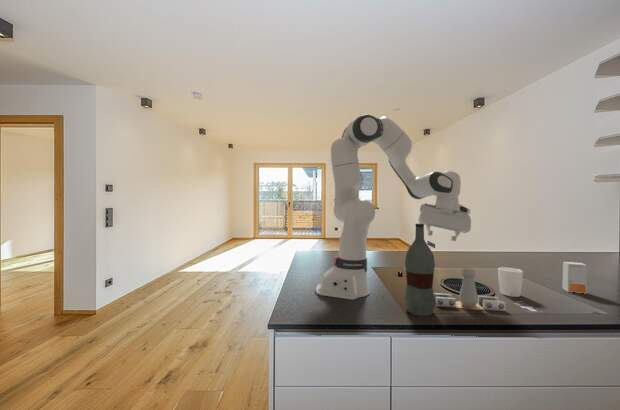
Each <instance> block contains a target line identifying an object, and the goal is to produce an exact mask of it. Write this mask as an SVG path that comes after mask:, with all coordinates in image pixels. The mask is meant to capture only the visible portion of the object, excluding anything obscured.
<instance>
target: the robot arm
mask: <svg viewBox="0 0 620 410" xmlns="http://www.w3.org/2000/svg"><path fill="white" fill-rule="evenodd" d="M371 142H372V143H375V144H376V145H378V147H380V148H381V150H382V151H383V152H384V153H385V155H386V156H387V158H388V163H389V165H390V167H391V169H393V171H394V172H395V174H396V175H397V177H398V178H399V180H401V182H402V183H403V185H404V187H405V188H406V190H407V192H408V195H409V196H410V197H412V198H413V199H415V200H422V199H425V198H427V197H431V196H435V197H436V199H435V202H434V203H435V204H429V203H427V202H426V203H423V204H421V205H420V208H419V212H420V213H419V216H418V220H417V221H418V224H424V226H425V225H426V226H425V227H426V230H427V236H430V237H432V236H433V233H434V231H432V230H431V227H435V228H440V229H444V230H449V231H453V232H454V234H455V235H452V236H451V237H450V238H451V239H450V241H452V242H456V241H457V238H458V237H459V236H460V234H461V233H463V234H467V233H469V232H470V231H471V230H472V229H471V228H472V219H471V216H470V215H469V214H470V213H471V209H469V207H466V206H464V205H463V204H460V203H459V201H460V200H459V196H460V194H461V176H460V175H459V173H457V172H455V171H452V170H446V171H443V172H441V171H434V172H433V171H432V172H429V173H427V174H424V175H420V176H416V175H415V174H414V173H413V171H412V170H411V168H410V167H409V166H408V164H407V161H406V160H407V157H408V156H409V154H410V153H411V151H412V147H413V146H412V140H411V138H410V137H409V136H408V134H407V133H406V132H405V130H403V129H402V128H401V127H400V126H399V125H398V124H397V123H395V122H394V120H391V119H390V118H389V117H386V116H382V117H380V118H377V117H376V116H373V115H372V114H363V115H360V116H357V118H356V119H354V120H353V121H351V122H350V123H349V124H348V125H347V126H346V127H345V129H344V130H343V132H342V135H341V137H340V138H338V139H336V140H334V141H333V142H332V144H331V146H330V158H331V159H330V161H331V170H332V175H333V176H332V177H333V181H334V207H333V214H334V216H335V218H336V219H337V220H338V221H339V222H341V223H343V227H342V232H341V235H340V236H339V241H338V244H339V247H338V249H339V251H338V254H339V255H335V256H334V257H333V260H334V262H333V263H334V266H332V267H331V268H329V269H328V270H327V271H326V272H324V274H323V275H322V276H321V281H320V282H319V283H318V284H317V285H316V287H315V294H317V295H318V294H319V295H318V296H326V297H329V298H330V297H332V298H339V299H346V300H357V299H359V298H362V297H367V296H368V295H370V293H371V290H370V286H369V283H368V282H369V281H368V274H367V272H368V258H367V239H368V234H369V228H370V226H371V223H372V222H373V220H374V219H375V217H376V209H375V206H374V204H373V203H372V202H371V201H369V200H367V199H365V198H361V197H360V188H361V187H360V186H361V185H362V174H361V169H360V161H359V157H358V154H359V153H358V152H359V148H362V147H364V146H367V145H369V144H370V143H371Z"/></svg>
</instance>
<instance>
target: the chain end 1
mask: <svg viewBox="0 0 620 410" xmlns="http://www.w3.org/2000/svg"><path fill="white" fill-rule="evenodd" d="M433 293H434V301H435V306H436V307H439V308H440V307H442V308H443V307H444V308H456V309H457V307H456V301H457V298H455V297H453V294H451V293H443V292H441V293H439V292H433Z"/></svg>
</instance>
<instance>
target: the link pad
mask: <svg viewBox="0 0 620 410" xmlns="http://www.w3.org/2000/svg"><path fill="white" fill-rule="evenodd" d="M456 309H462V310H463V309H465V310H478V311H479V310H481V311H485V310H484V309H483V306H482V305H479V304H478V302H477V304H476V306H475V307H473V308H471V307H465V306H463V305H462V303H461V301H460V300H458V301H457V300H456Z"/></svg>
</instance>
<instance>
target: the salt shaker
mask: <svg viewBox="0 0 620 410" xmlns="http://www.w3.org/2000/svg"><path fill="white" fill-rule="evenodd" d="M476 275H477V273H476V270H474V269H471V268H462V269H461V276H462V283H461V288H460V290H459V296H458V299H459V301H461V303H462V305H463V306H465V307H471V308H473V307H475V306H476V304H477V303H478V292H477V287H476V282H475V277H476Z"/></svg>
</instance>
